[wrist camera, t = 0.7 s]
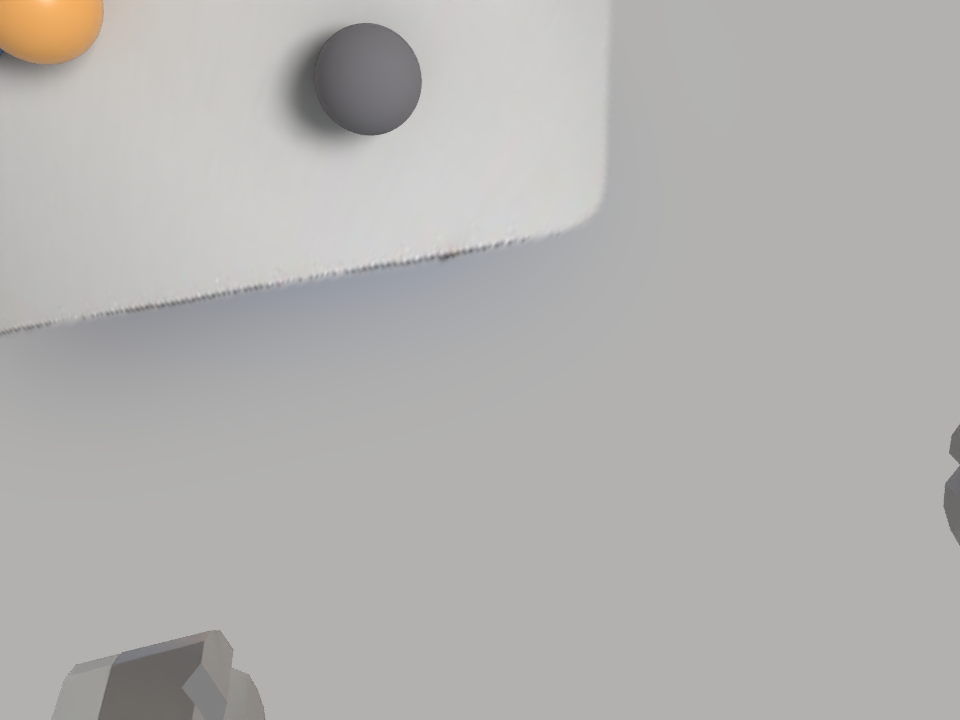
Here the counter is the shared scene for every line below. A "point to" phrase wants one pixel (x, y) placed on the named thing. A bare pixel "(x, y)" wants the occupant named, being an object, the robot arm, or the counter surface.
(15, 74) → the counter surface
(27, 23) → the orange ball
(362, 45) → the gray ball
